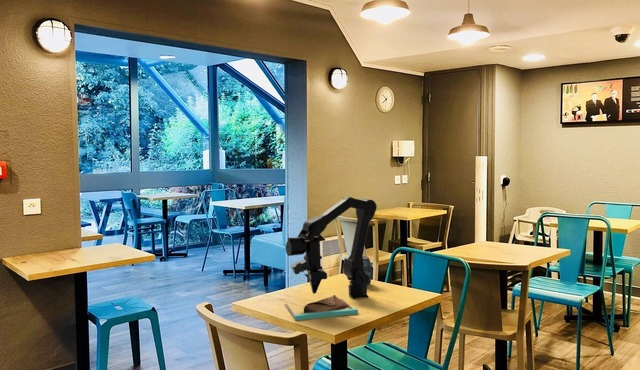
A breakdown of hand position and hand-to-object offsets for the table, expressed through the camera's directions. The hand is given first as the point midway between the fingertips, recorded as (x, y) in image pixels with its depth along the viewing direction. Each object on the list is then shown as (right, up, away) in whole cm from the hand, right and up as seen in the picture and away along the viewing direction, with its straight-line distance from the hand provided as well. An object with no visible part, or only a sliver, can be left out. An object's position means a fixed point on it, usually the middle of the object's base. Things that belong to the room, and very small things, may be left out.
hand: (314, 293), depth 206 cm
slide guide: (+2, -4, -7) cm, 9 cm away
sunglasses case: (+5, -5, -8) cm, 11 cm away
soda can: (+21, -2, +28) cm, 35 cm away
